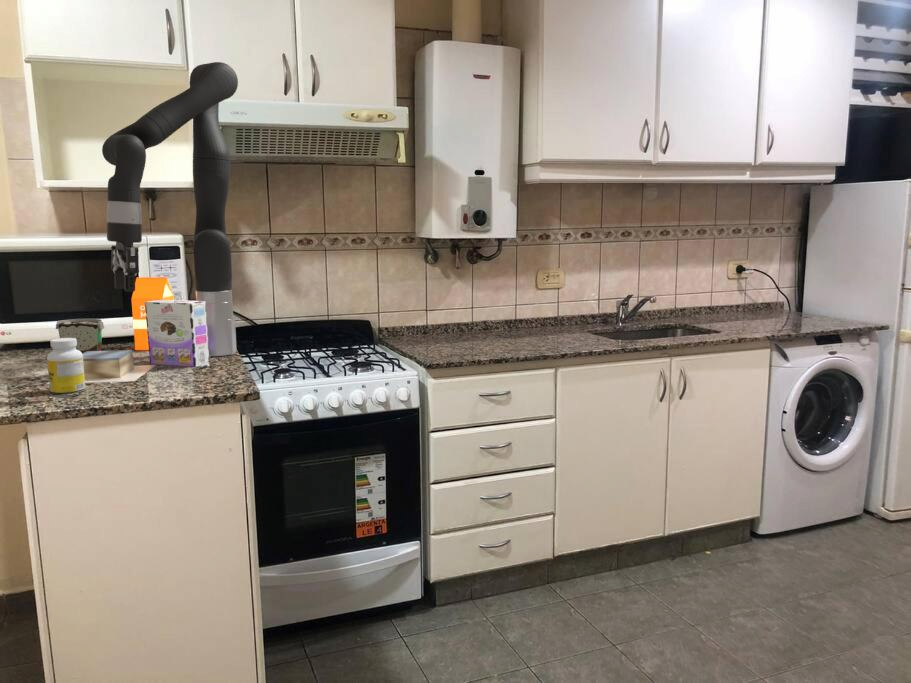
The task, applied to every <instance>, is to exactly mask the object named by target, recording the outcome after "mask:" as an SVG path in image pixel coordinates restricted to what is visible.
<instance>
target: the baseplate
mask: <svg viewBox="0 0 911 683" xmlns="http://www.w3.org/2000/svg"><path fill="white" fill-rule="evenodd" d="M155 366H157V364H143V365H134V369H133V370H131V371H130V372H128V373H127V374H126V375H124V376H123V377H121V378H98V379H85V384H94V383H95V384H97V383H118V382H119V383H124V382H125V383H126V382H128V383H129V382H136V381H137V380H138V379H140V378H141V377H142V376H144V375H145V374H146V373H148V372H150V371H151V370H152V369H153V368H154V367H155ZM45 385H50V384H49V381H48V382H46V383H45Z"/></svg>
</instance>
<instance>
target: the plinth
mask: <svg viewBox="0 0 911 683" xmlns="http://www.w3.org/2000/svg"><path fill="white" fill-rule="evenodd" d="M133 353H134V352H133V350H132V349H125V350H123V349H122V350H121V349H120V350H119V349H118V350H101V351H87V352H85V353H83V354H82V355H83V365H84V377H85V379H98V378H121V377H123V376H124V375H126V374H127V373H128V372H130V371H131V370H133V369H134V366H135V365H134V354H133Z"/></svg>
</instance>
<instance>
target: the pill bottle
mask: <svg viewBox="0 0 911 683" xmlns="http://www.w3.org/2000/svg"><path fill="white" fill-rule="evenodd" d="M49 341H50V348H51V349H52V351H51V352H49V353H48V354H47V357H46V362H47V363H46V364H47V370H48V371H47V372H48V382H49V384H48V385H49V392H50V394H52V395H51V397H53V398H57V399H67V398H68V399H69V398H76V397H80V396H82V395H83V393H81V392H83V391H85V390H86V383H85V377H84V365H83V355H82V353H81V352H80V351H79V350H76V346H77V340H76V338H60V337H59V338H54V339H50V340H49ZM75 393H76V394H75ZM77 393H81V394H77Z"/></svg>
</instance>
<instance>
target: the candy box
mask: <svg viewBox="0 0 911 683" xmlns="http://www.w3.org/2000/svg"><path fill="white" fill-rule="evenodd" d="M145 311H146V323H147V335H148V346H149V350H148V357H149V364H150V365H162V366H163V365H164V366H165V365H166V366H177V367H191V368H193V367H194V368H195V367H196V368H197V367H199V368H198V370H201V369H204V368H208V367H210V356H209V350H208V334H207V317H206V301H196V300H188V299H186V300H185V299H184V300H182V299H174V300H155V301H148V302H145Z"/></svg>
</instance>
